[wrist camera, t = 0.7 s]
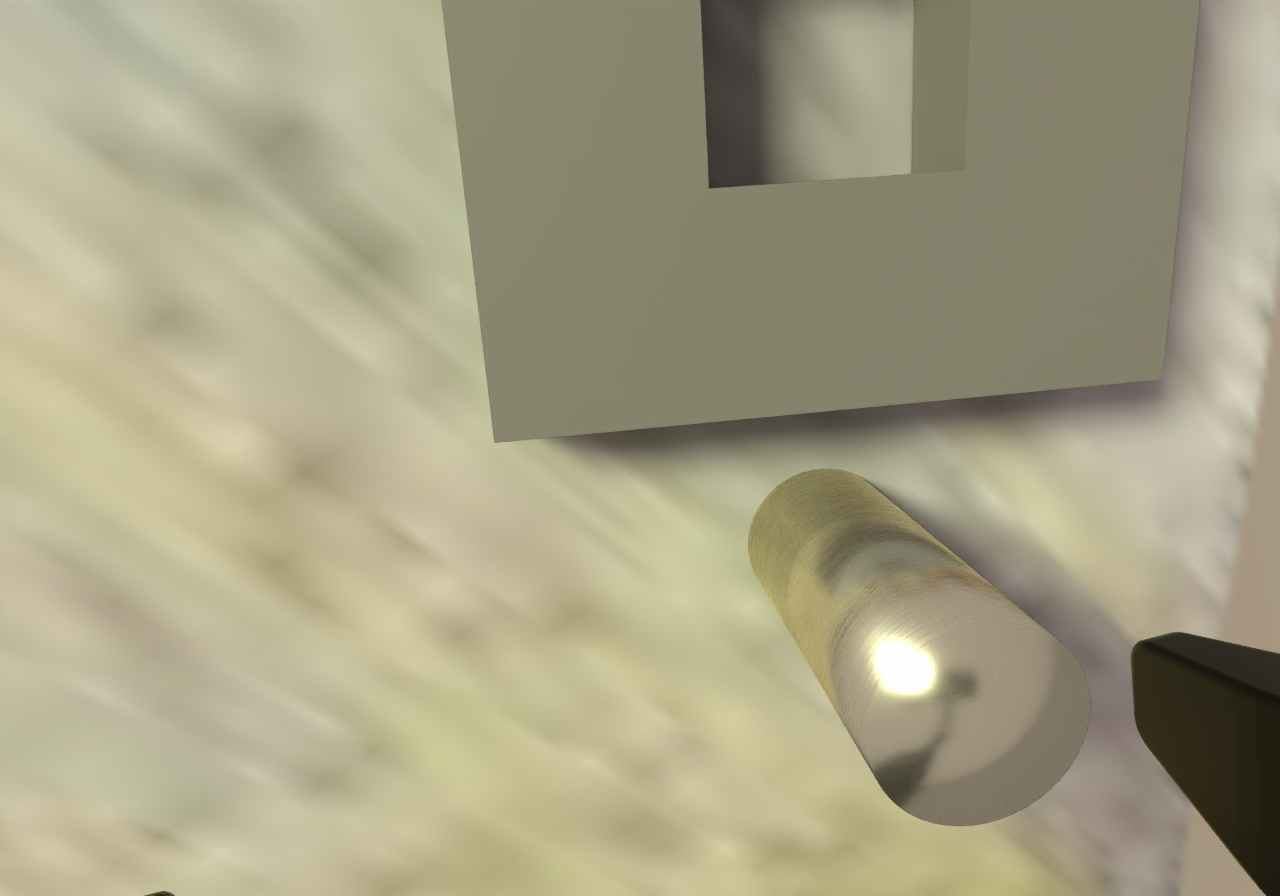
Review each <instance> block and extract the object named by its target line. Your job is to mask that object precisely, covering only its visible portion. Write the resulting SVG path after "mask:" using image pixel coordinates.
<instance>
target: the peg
mask: <svg viewBox="0 0 1280 896" xmlns="http://www.w3.org/2000/svg"><path fill="white" fill-rule="evenodd" d="M748 549H749V557H750V561H751V564H752V567H753V570H754V572H755V574H756V576H757V577H758V579H759V581H760V583H761V584H762V586H763V588H764V589H765V591H766V593H767V594H768V596H769V598H770V599H771V601H772V603H773V605H774V606H775V608H776V610H777V611H778V613H779V615H780V616H781V618H782V620H783V622H784V623H785V625H786V627H787V628H788V630H789V632H790V633H791V635H792V637H793V639H794V640H795V642H796V644H797V645H798V647H799V649H800V650H801V652H802V654H803V656H804V657H805V659H806V661H807V662H808V664H809V666H810V667H811V669H812V671H813V673H814V674H815V676H816V678H817V679H818V681H819V683H820V684H821V686H822V688H823V689H824V691H825V693H826V695H827V696H828V698H829V700H830V701H831V703H832V705H833V706H834V708H835V710H836V712H837V713H838V715H839V717H840V718H841V720H842V722H843V723H844V725H845V727H846V729H847V730H848V732H849V734H850V735H851V737H852V739H853V740H854V742H855V744H856V746H857V747H858V749H859V751H860V752H861V754H862V756H863V757H864V759H865V761H866V763H867V764H868V766H869V768H870V769H871V771H872V773H873V774H874V776H875V778H876V780H877V781H878V783H879V785H880V786H881V788H882V789H883V791H884V792H885V793H886V794H887V796H888V797H889V798H890V799H891V800H892V801H893V802H894V803H895V804H896V805H897V806H899V807H900V808H902V809H903V810H904V811H906V812H907V813H909V814H911V815H913V816H915V817H917V818H919V819H922V820H925V821H928V822H931V823H935V824H941V825H947V826H972V825H978V824H984V823H989V822H992V821H996V820H999V819H1002V818H1005V817H1007V816H1010V815H1012V814H1015V813H1016V812H1018V811H1020V810H1022V809H1024V808H1026V807H1028V806H1029V805H1031V804H1032V803H1034V802H1035V801H1037V800H1038V799H1040V798H1041V797H1042V796H1043V795H1044V794H1046V793H1047V792H1048V791H1049V790H1050V789H1051V788H1052V787H1053V786H1054V785H1055V784H1056V783H1057V782H1058V781H1059V780H1060V779H1061V778H1062V777H1063V775H1064V774H1065V773H1066V772H1067V770H1068V769H1069V768H1070V766H1071V765H1072V763H1073V761H1074V760H1075V758H1076V756H1077V755H1078V753H1079V750H1080V748H1081V746H1082V744H1083V742H1084V738H1085V735H1086V732H1087V729H1088V723H1089V718H1090V695H1089V688H1088V684H1087V681H1086V677H1085V675H1084V673H1083V670H1082V668H1081V666H1080V664H1079V663H1078V661H1077V660H1076V658H1075V657H1074V655H1073V654H1072V653H1071V652H1070V651H1069V650H1068V649H1067V648H1066V646H1064V645H1063V644H1062V643H1061V642H1060V641H1058V640H1057V639H1056V638H1055V637H1054V636H1052V635H1051V634H1050V633H1049V632H1047V631H1046V630H1045V629H1044V628H1043V627H1041V626H1040V625H1039V624H1038V623H1037V622H1035V621H1034V620H1033V619H1032V618H1031V617H1029V616H1028V615H1027V614H1026V613H1025V612H1023V611H1022V610H1021V609H1020V608H1019V607H1017V606H1016V605H1015V604H1014V603H1013V602H1011V601H1010V600H1009V599H1008V598H1007V597H1005V596H1004V595H1003V594H1002V593H1001V592H999V591H998V590H997V589H996V588H995V587H993V586H992V585H991V584H990V583H989V582H987V581H986V580H985V579H984V578H983V577H981V576H980V575H979V574H978V573H977V572H975V571H974V570H973V569H972V568H971V567H969V566H968V565H967V564H966V563H964V562H963V561H962V560H961V559H960V558H958V557H957V556H956V555H955V554H954V553H952V552H951V551H950V550H949V549H948V548H946V547H945V546H944V545H943V544H942V543H940V542H939V541H938V540H937V539H936V538H934V537H933V536H932V535H931V534H930V533H928V532H927V531H926V530H925V529H924V528H922V527H921V526H920V525H919V524H918V523H916V522H915V521H914V520H913V519H912V518H910V517H909V516H908V515H907V514H906V513H904V512H903V511H902V510H901V509H900V508H898V507H897V506H896V505H895V504H894V503H892V502H891V501H890V500H889V499H888V498H886V497H885V496H884V495H883V494H881V493H880V492H879V491H878V490H877V489H875V488H874V487H873V486H872V485H871V484H869V483H868V482H867V481H866V480H864V479H862V478H861V477H859V476H857V475H855V474H852V473H850V472H846V471H842V470H836V469H818V470H811V471H807V472H804V473H801V474H798V475H796V476H793V477H792V478H790V479H788V480H786V481H784V482H783V483H782V484H780V485H779V486H778V487H776V488H775V489H774V490H773V491H772V492H771V493H770V494H769V495H768V496H767V497H766V499H765V500H764V501H763V502H762V504H761V505H760V507H759V508H758V510H757V512H756V514H755V516H754V518H753V521H752V524H751V527H750V532H749V541H748Z"/></svg>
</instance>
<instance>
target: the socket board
mask: <svg viewBox="0 0 1280 896" xmlns="http://www.w3.org/2000/svg"><path fill="white" fill-rule="evenodd" d="M441 1H442V9H443V18H444V26H445V35H446V43H447V51H448V60H449V68H450V76H451V85H452V93H453V101H454V110H455V118H456V126H457V135H458V143H459V151H460V160H461V168H462V176H463V185H464V193H465V201H466V210H467V218H468V226H469V235H470V243H471V252H472V260H473V268H474V277H475V285H476V293H477V302H478V310H479V318H480V327H481V335H482V343H483V352H484V360H485V368H486V377H487V385H488V393H489V402H490V410H491V418H492V427H493V435H494V443H499V442H509V441H520V440H530V439H541V438H551V437H562V436H572V435H583V434H593V433H604V432H614V431H625V430H635V429H646V428H657V427H667V426H678V425H688V424H699V423H709V422H720V421H730V420H741V419H751V418H762V417H772V416H783V415H793V414H804V413H814V412H825V411H836V410H846V409H857V408H867V407H878V406H888V405H899V404H909V403H920V402H930V401H941V400H951V399H962V398H972V397H983V396H993V395H1004V394H1015V393H1025V392H1036V391H1046V390H1057V389H1067V388H1078V387H1088V386H1099V385H1109V384H1120V383H1130V382H1141V381H1151V380H1162V379H1163V369H1164V359H1165V349H1166V339H1167V328H1168V318H1169V308H1170V298H1171V288H1172V278H1173V267H1174V257H1175V247H1176V237H1177V227H1178V217H1179V207H1180V196H1181V186H1182V176H1183V166H1184V156H1185V146H1186V136H1187V125H1188V115H1189V105H1190V95H1191V85H1192V75H1193V64H1194V54H1195V44H1196V34H1197V24H1198V14H1199V4H1200V0H914V54H913V115H912V174H907V175H893V176H879V177H865V178H851V179H837V180H822V181H808V182H794V183H780V184H766V185H752V186H738V187H724V188H709V180H708V158H707V135H706V113H705V91H704V69H703V47H702V25H701V3H700V0H441Z"/></svg>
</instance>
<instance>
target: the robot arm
mask: <svg viewBox="0 0 1280 896" xmlns="http://www.w3.org/2000/svg"><path fill="white" fill-rule="evenodd" d="M1131 670H1132V686H1133V701H1134V716H1135V721H1136V725H1137V728H1138V731H1139V733H1140V736H1141V737H1142V739H1143V741H1144V743H1145V744H1146V746H1147V747H1148V748H1149V750H1150V751H1151V752H1152V753H1153V755H1154V756H1155V757H1156V759H1157V760H1158V761H1159V762H1160V764H1161V765H1162V766H1163V767H1164V769H1165V770H1166V771H1167V773H1168V774H1169V775H1170V776H1171V778H1172V779H1173V780H1174V781H1175V783H1176V784H1177V785H1178V787H1179V788H1180V789H1181V790H1182V792H1183V793H1184V794H1185V795H1186V797H1187V798H1188V799H1189V801H1190V802H1191V803H1192V804H1193V806H1194V807H1195V808H1196V809H1197V811H1198V812H1199V813H1200V815H1201V816H1202V817H1203V818H1204V819H1205V821H1206V822H1207V823H1208V824H1209V826H1210V827H1211V829H1212V830H1213V831H1214V832H1215V834H1216V835H1217V836H1218V837H1219V839H1220V840H1221V841H1222V843H1223V844H1224V845H1225V846H1226V848H1227V849H1228V850H1229V851H1230V853H1231V854H1232V855H1233V857H1234V858H1235V859H1236V860H1237V862H1238V863H1239V864H1240V865H1241V867H1242V868H1243V869H1244V870H1245V871H1246V873H1247V874H1248V875H1249V876H1250V877H1251V879H1252V880H1253V881H1254V882H1255V883H1256V885H1257V886H1258V887H1259V888H1260V889H1261V890H1262V891H1263V893H1264V894H1265V895H1266V896H1280V654H1279V653H1275V652H1270V651H1265V650H1261V649H1256V648H1251V647H1247V646H1242V645H1238V644H1233V643H1229V642H1224V641H1220V640H1215V639H1211V638H1206V637H1201V636H1197V635H1192V634H1188V633H1182V632H1173V633H1168V634H1165V635H1161V636H1157V637H1153V638H1149V639H1145V640H1142V641H1139V642H1138V643H1137V644H1136V645H1135V646H1134V647H1133V649H1132V653H1131ZM145 896H174V895H173V894H172V893H170V892H166V891H160V892H156V893H153V894H149V895H145Z"/></svg>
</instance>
